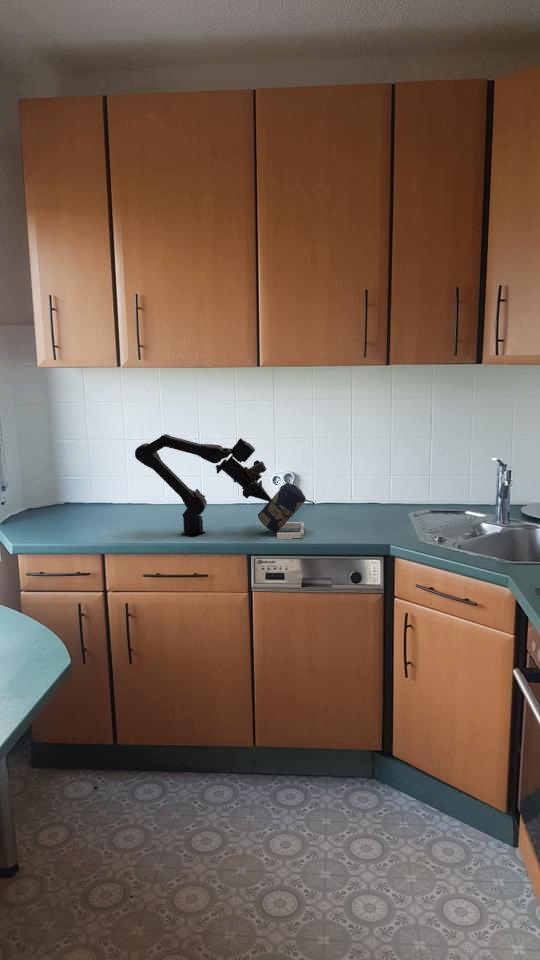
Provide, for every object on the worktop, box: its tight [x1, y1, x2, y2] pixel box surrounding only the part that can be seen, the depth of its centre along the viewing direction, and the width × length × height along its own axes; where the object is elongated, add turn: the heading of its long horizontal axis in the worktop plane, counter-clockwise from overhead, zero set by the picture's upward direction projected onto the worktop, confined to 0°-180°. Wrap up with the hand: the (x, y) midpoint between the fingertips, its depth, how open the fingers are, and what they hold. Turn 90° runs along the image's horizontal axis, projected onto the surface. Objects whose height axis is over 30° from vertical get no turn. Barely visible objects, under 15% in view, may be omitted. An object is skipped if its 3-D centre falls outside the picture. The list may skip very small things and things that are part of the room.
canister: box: [257, 482, 307, 533], centre depth 263 cm, size 10×10×18 cm
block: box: [276, 521, 305, 540], centre depth 265 cm, size 9×15×2 cm, turn 177°
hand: (270, 500), depth 263 cm, fingers closed, pressing on canister
